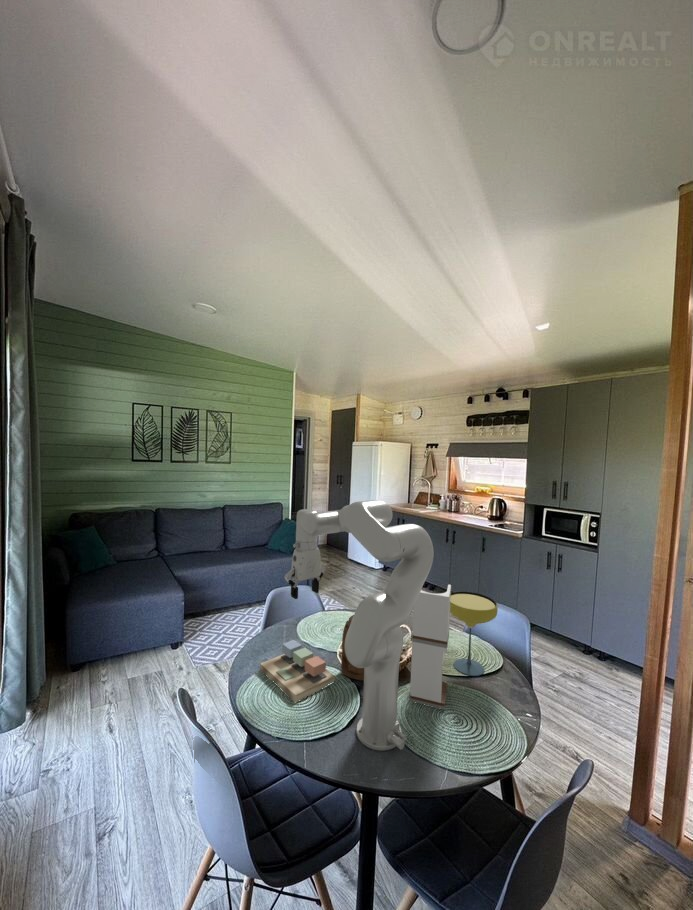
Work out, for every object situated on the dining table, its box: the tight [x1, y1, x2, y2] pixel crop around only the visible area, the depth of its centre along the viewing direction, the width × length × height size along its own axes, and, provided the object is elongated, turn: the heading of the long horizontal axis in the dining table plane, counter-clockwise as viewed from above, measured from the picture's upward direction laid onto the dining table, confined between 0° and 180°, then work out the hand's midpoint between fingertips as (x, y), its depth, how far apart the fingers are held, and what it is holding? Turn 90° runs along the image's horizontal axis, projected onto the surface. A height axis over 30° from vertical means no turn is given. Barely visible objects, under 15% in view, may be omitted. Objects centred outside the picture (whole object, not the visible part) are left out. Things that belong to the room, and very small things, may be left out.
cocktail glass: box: [450, 591, 499, 677], centre depth 138 cm, size 18×18×25 cm
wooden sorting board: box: [259, 653, 336, 703], centre depth 128 cm, size 22×16×3 cm
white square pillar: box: [409, 584, 452, 710], centre depth 121 cm, size 11×11×35 cm
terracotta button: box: [305, 655, 327, 677], centre depth 125 cm, size 5×5×3 cm
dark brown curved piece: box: [340, 614, 365, 681], centre depth 131 cm, size 11×8×20 cm
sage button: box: [293, 647, 314, 667], centre depth 130 cm, size 5×5×3 cm
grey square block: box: [281, 639, 302, 658], centre depth 135 cm, size 5×5×3 cm
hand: (305, 594), depth 130 cm, fingers open, 8 cm apart
